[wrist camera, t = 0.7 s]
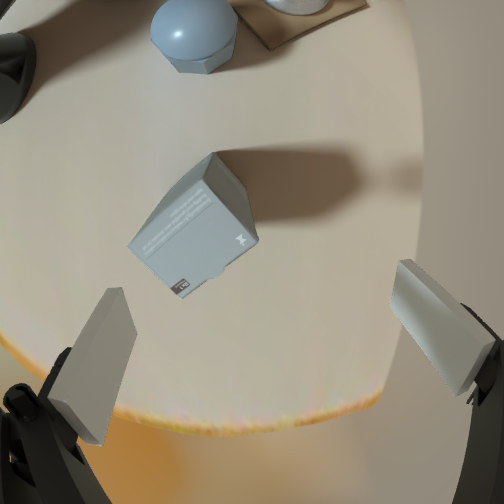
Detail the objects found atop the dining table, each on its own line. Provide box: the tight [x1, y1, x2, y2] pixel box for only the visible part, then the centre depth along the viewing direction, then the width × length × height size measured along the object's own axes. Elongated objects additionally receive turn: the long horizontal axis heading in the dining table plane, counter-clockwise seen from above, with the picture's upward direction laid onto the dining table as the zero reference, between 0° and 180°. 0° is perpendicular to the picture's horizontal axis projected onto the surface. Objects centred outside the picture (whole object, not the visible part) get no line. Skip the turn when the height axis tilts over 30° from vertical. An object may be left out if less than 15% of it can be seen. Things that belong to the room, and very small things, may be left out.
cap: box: [151, 0, 238, 74], centre depth 24 cm, size 8×8×7 cm
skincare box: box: [127, 152, 259, 299], centre depth 27 cm, size 8×7×16 cm
